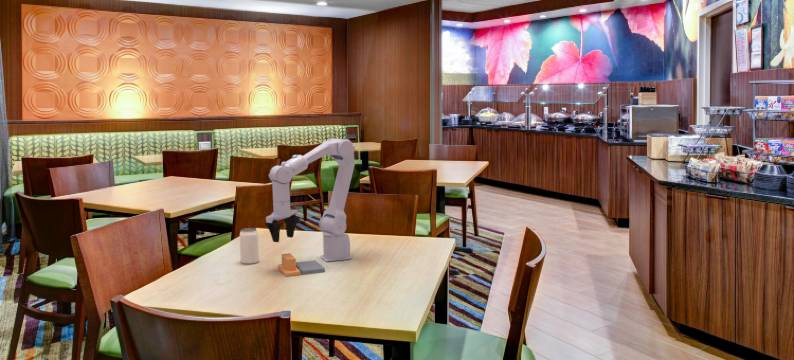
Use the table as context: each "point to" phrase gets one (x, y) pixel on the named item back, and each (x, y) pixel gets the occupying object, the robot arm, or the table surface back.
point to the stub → (288, 265)
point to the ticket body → (309, 267)
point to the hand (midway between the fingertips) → (283, 239)
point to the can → (249, 246)
